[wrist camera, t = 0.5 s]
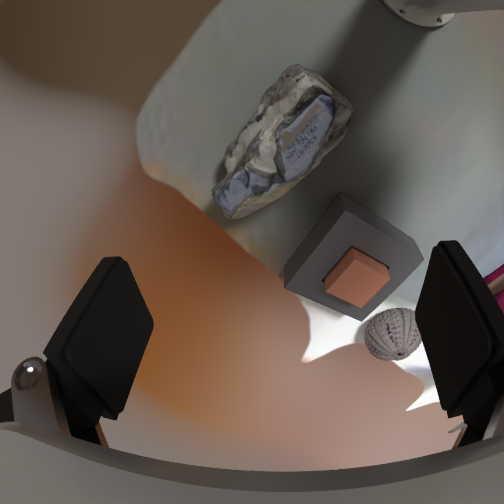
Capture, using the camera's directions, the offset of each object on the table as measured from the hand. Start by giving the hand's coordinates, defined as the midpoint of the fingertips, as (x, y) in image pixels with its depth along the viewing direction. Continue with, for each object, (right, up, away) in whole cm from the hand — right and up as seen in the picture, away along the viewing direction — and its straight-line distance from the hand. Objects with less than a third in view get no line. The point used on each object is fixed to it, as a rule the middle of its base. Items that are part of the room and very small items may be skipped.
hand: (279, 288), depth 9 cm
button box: (+15, +1, +41) cm, 43 cm away
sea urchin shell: (+29, -14, +50) cm, 60 cm away
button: (+15, -2, +37) cm, 39 cm away
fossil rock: (+2, +17, +31) cm, 35 cm away
